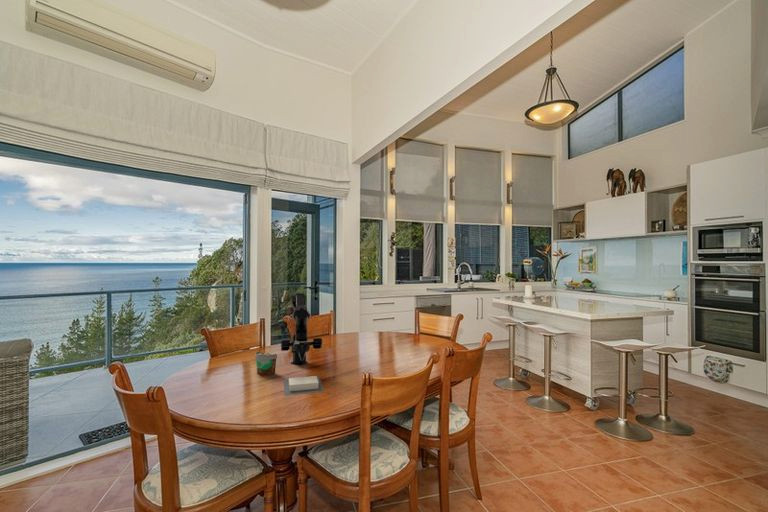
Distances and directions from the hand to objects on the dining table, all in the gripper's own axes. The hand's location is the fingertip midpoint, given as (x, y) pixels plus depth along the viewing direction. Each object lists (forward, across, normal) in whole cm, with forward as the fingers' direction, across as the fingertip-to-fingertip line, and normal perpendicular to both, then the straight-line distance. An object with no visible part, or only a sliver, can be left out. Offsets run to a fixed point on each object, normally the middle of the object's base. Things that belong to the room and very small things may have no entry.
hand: (302, 360), depth 159 cm
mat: (+12, 0, -1) cm, 12 cm away
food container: (-3, +18, -17) cm, 24 cm away
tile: (+8, 0, -2) cm, 9 cm away
